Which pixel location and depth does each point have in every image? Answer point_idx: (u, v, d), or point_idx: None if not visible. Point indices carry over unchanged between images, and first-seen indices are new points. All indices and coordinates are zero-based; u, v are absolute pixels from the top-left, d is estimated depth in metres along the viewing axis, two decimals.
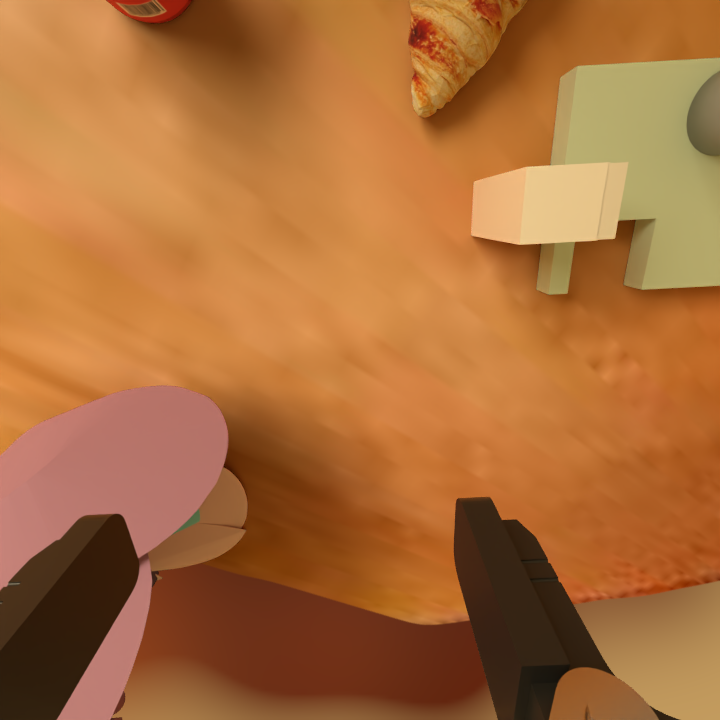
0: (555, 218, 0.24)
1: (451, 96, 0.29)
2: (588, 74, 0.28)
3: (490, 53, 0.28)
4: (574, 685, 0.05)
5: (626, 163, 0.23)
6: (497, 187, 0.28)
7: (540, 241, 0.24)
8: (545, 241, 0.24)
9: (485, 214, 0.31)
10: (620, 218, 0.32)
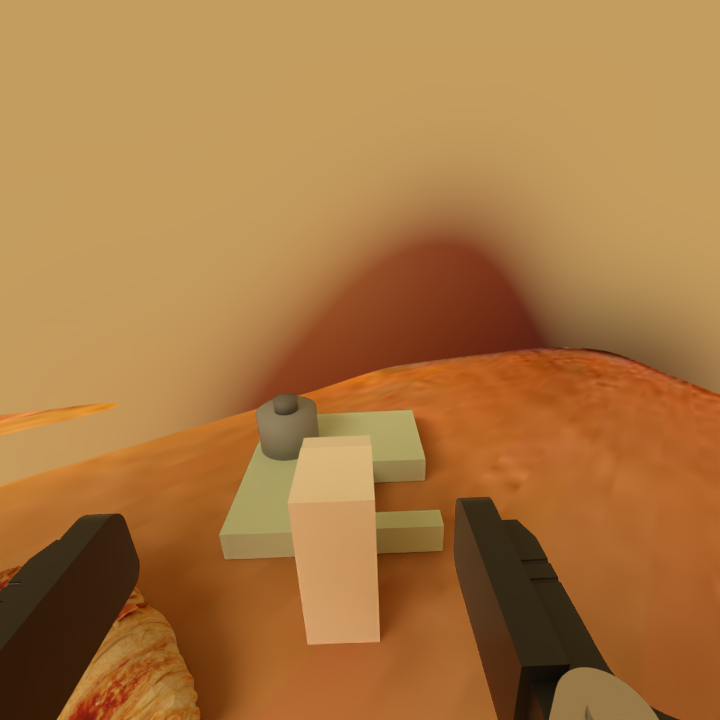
0: (346, 475, 0.22)
1: (188, 674, 0.20)
2: (230, 525, 0.30)
3: (165, 620, 0.23)
4: (574, 685, 0.05)
5: (304, 438, 0.25)
6: (312, 572, 0.21)
7: (371, 482, 0.21)
8: (371, 479, 0.21)
9: (347, 599, 0.22)
10: None
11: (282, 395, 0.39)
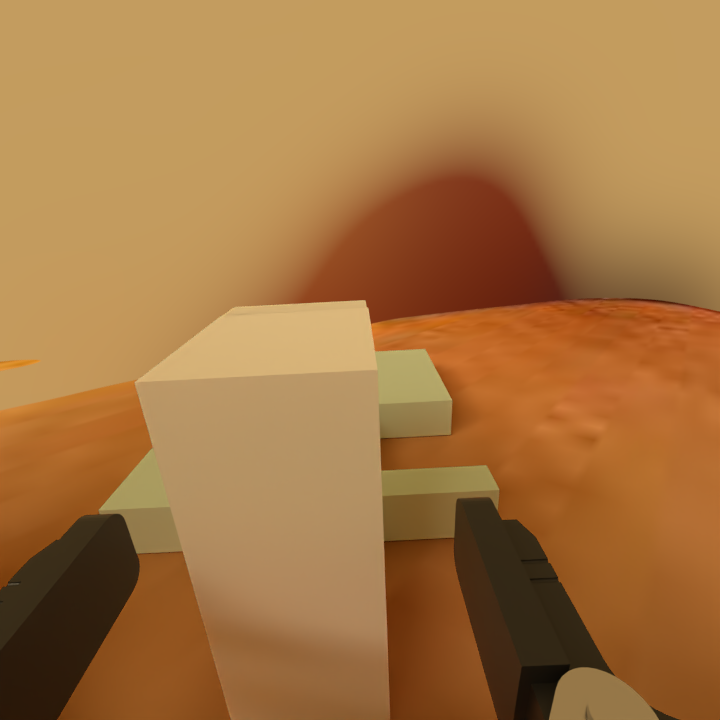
0: (309, 339, 0.09)
1: None
2: (123, 494, 0.17)
3: None
4: (574, 685, 0.05)
5: (234, 307, 0.13)
6: (226, 575, 0.09)
7: (367, 346, 0.08)
8: (368, 341, 0.09)
9: (316, 637, 0.10)
10: None
11: None
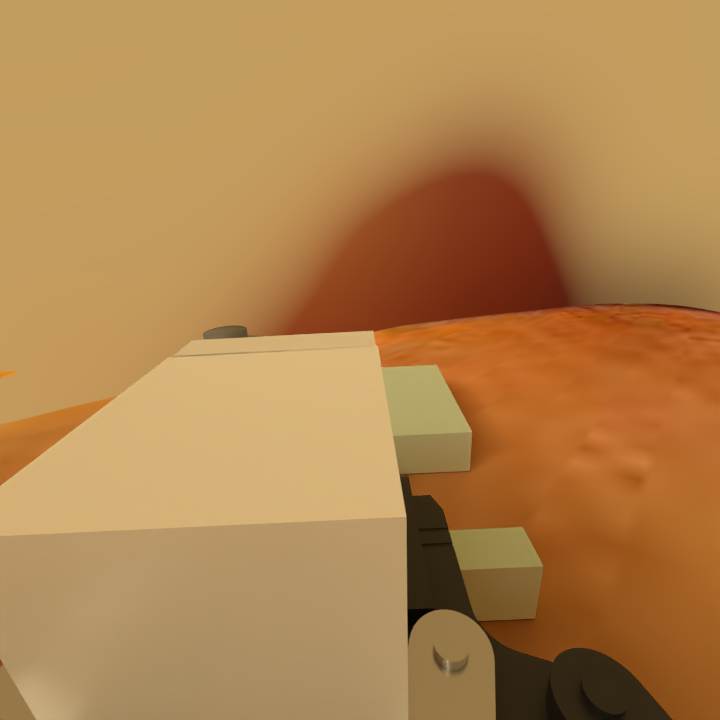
0: (286, 415, 0.06)
1: None
2: None
3: None
4: (430, 623, 0.06)
5: (193, 341, 0.09)
6: None
7: (382, 439, 0.05)
8: (382, 425, 0.05)
9: None
10: None
11: (222, 327, 0.23)
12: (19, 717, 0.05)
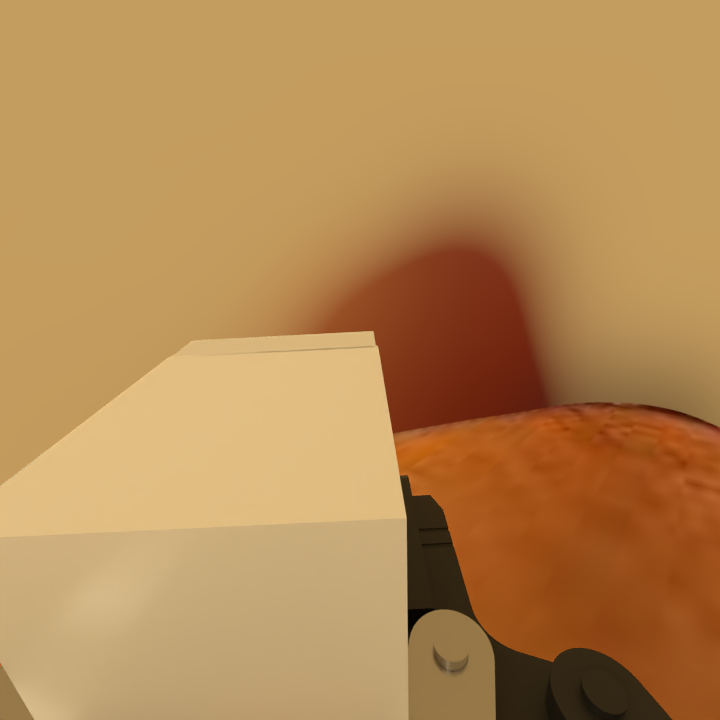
0: (285, 415, 0.06)
1: None
2: None
3: None
4: (430, 623, 0.06)
5: (193, 341, 0.09)
6: None
7: (383, 440, 0.05)
8: (382, 426, 0.05)
9: None
10: None
11: None
12: (19, 716, 0.05)
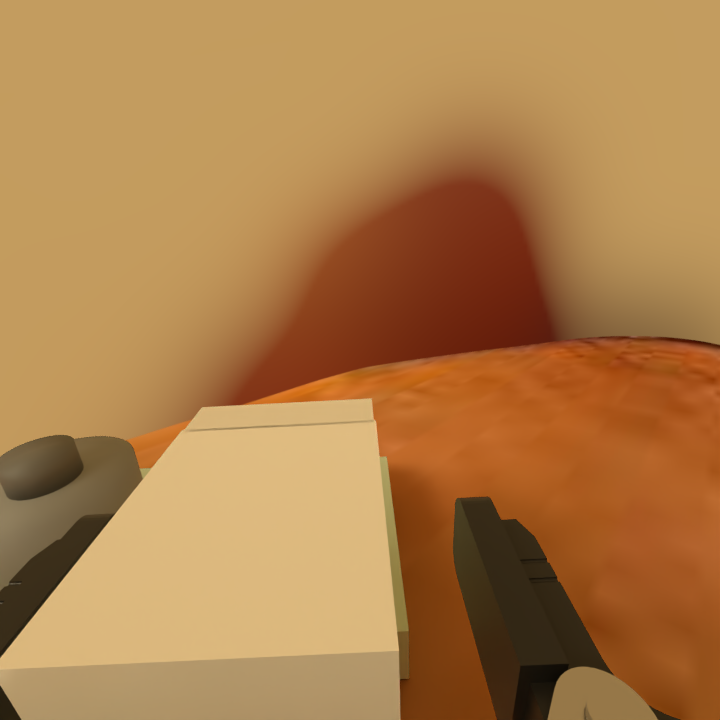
0: (292, 516, 0.06)
1: None
2: None
3: None
4: (573, 684, 0.05)
5: (203, 408, 0.10)
6: None
7: (379, 550, 0.05)
8: (379, 533, 0.06)
9: None
10: None
11: (41, 441, 0.15)
12: None
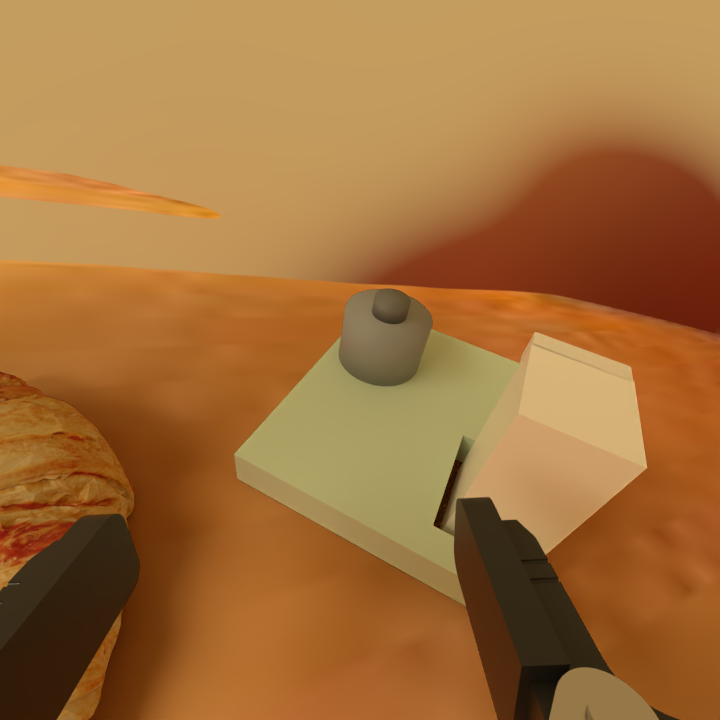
0: (600, 410, 0.15)
1: (93, 677, 0.14)
2: (253, 446, 0.21)
3: None
4: (574, 685, 0.05)
5: (536, 333, 0.18)
6: (490, 491, 0.17)
7: (639, 439, 0.14)
8: (638, 433, 0.14)
9: None
10: (448, 470, 0.22)
11: (391, 291, 0.26)
12: None
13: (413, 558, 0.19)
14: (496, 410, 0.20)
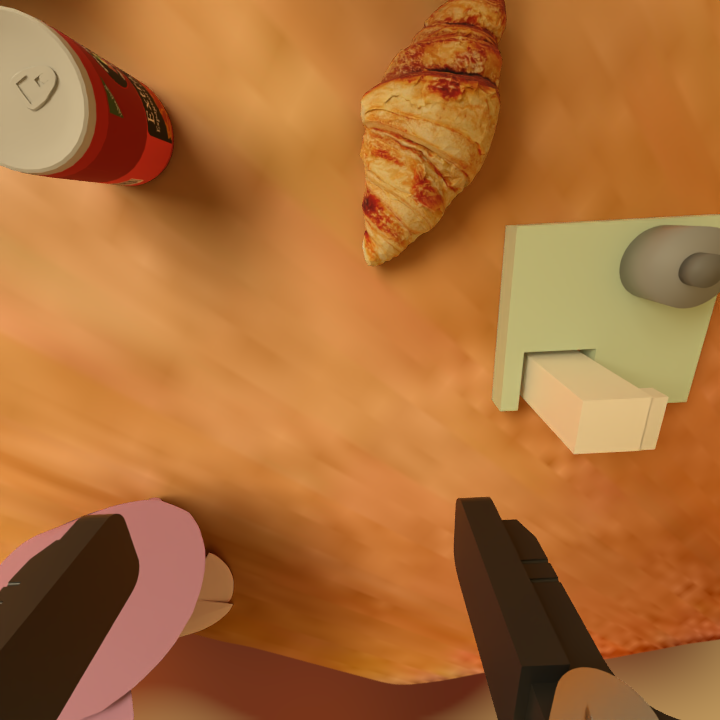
0: (604, 435, 0.28)
1: (397, 254, 0.32)
2: (527, 233, 0.31)
3: (433, 226, 0.31)
4: (574, 685, 0.05)
5: (666, 398, 0.27)
6: (549, 383, 0.32)
7: (591, 451, 0.29)
8: (595, 451, 0.29)
9: (534, 391, 0.35)
10: (563, 348, 0.35)
11: None
12: None
13: (503, 348, 0.35)
14: (606, 376, 0.31)
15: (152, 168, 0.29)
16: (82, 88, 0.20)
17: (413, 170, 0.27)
